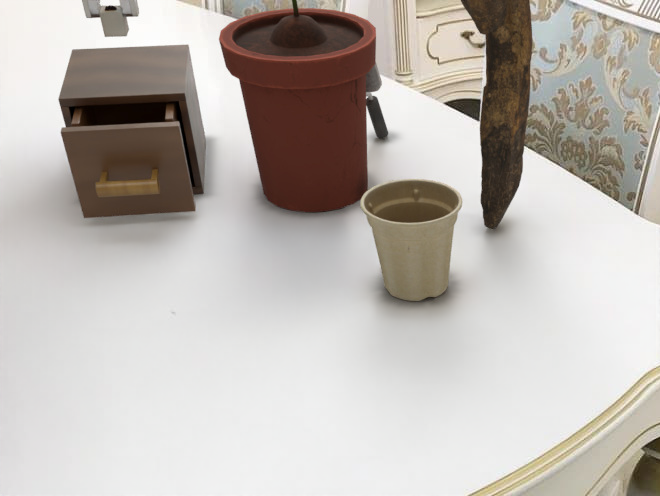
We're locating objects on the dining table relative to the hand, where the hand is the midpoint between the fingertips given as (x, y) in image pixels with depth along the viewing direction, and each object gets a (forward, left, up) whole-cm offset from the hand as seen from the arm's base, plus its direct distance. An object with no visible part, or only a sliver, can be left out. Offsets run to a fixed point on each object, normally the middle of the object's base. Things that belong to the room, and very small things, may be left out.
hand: (113, 15), depth 111 cm
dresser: (-1, +4, -17) cm, 18 cm away
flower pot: (+26, -27, -17) cm, 42 cm away
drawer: (0, -5, -16) cm, 17 cm away
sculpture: (+35, -16, -17) cm, 43 cm away
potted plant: (+20, -2, -17) cm, 27 cm away
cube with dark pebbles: (0, 0, -2) cm, 2 cm away
